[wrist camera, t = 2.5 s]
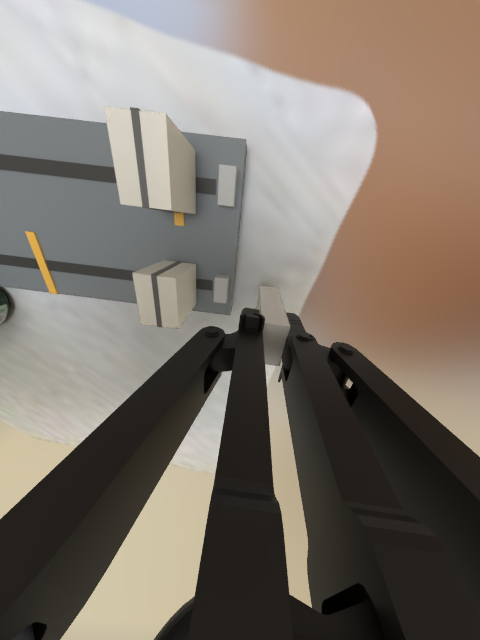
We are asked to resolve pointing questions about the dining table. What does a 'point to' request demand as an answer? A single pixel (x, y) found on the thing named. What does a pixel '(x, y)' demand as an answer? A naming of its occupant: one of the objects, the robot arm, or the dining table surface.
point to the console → (109, 214)
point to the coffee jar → (3, 307)
